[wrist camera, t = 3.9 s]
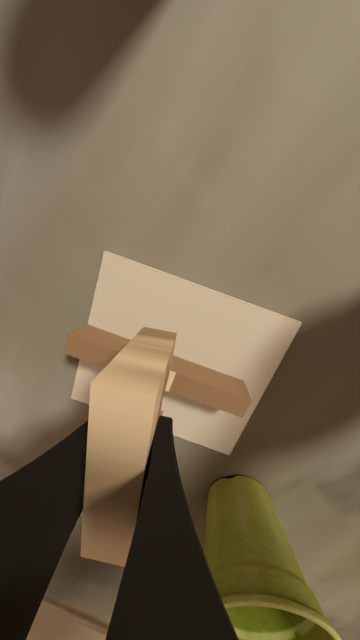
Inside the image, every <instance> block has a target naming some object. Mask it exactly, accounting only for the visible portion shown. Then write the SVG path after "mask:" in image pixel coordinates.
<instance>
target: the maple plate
mask: <svg viewBox="0 0 360 640" xmlns="http://www.w3.org/2000/svg"><path fill="white" fill-rule="evenodd" d="M176 335H177V333H174V332H169V331H164V330H158V329H153V328H148V327H143V328H142V329H141V330H140V331H139V332H138V333H137V334H136V335H135V337H134V338H133V339H132V340H131V341H130V342H129V343H128V344H127V345H126V346H125V347H124V348H123V349H122V350H121V351H120V352H119V353H118V354H117V355H116V356H115V357H114V358H113V360H112V361H111V362H110V363H109V364H108V365H107V366H106V367H105V368H104V369H103V370H102V371H101V372H100V373H99V374H98V375H97V376H96V377H95V378H94V379H93V380H92V381H91V383H90V401H89V418H88V435H87V452H86V469H85V486H84V503H83V520H82V537H81V555H80V557H84V558H88V559H93V560H97V561H101V562H105V563H109V564H113V565H117V566H122V567H125V565H126V561H127V557H128V553H129V549H130V545H131V542H132V538H133V534H134V530H135V526H136V522H137V518H138V514H139V510H140V506H141V502H142V498H143V494H144V491H145V487H146V482H147V476H148V470H149V463H150V457H151V451H152V445H153V439H154V433H155V429H156V425H157V422H158V419H159V415H161V416H163V411H161V406H162V400H163V396H164V392H165V389H166V385H167V381H168V378H169V374H170V370H171V364H172V358H173V353H174V347H175V341H176Z"/></svg>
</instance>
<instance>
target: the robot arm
mask: <svg viewBox="0 0 360 640" xmlns="http://www.w3.org/2000/svg"><path fill="white" fill-rule="evenodd" d="M87 435H88V421H87V422H85V423H84V424H83V425H82V426H80V427H79V428H78V429H77V430H75V431H74V432H73V433H71V434H70V435H69V436H68V437H66V438H65V439H64V440H62V441H61V442H59V443H58V444H57V445H55V446H54V447H52V448H51V449H50V450H48V451H47V452H45V453H44V454H43V455H41V456H40V457H38V458H37V459H35V460H34V461H32V462H31V463H29V464H27V465H26V466H24V467H23V468H21V469H20V470H18V471H16V472H15V473H13V474H12V475H10V476H8V477H6V478H5V479H3V480H1V481H0V640H26V638H27V635H28V632H29V630H30V628H31V625H32V623H33V621H34V618H35V616H36V613H37V611H38V609H39V606H40V604H41V602H42V599H43V597H44V595H45V592H46V590H47V587H48V585H49V583H50V580H51V578H52V576H53V573H54V571H55V569H56V566H57V564H58V562H59V559H60V557H61V555H62V553H63V550H64V548H65V546H66V543H67V541H68V539H69V536H70V534H71V532H72V530H73V528H74V526H75V524H76V522H77V520H78V518H79V516H80V514H81V512H82V510H83V503H84V486H85V469H86V452H87ZM106 640H239V639H238V637H237V634H236V632H235V630H234V627H233V625H232V623H231V620H230V618H229V616H228V613H227V611H226V609H225V606H224V604H223V602H222V599H221V597H220V594H219V592H218V589H217V587H216V584H215V582H214V579H213V577H212V574H211V572H210V569H209V566H208V564H207V561H206V558H205V555H204V553H203V550H202V547H201V544H200V542H199V539H198V536H197V533H196V530H195V527H194V524H193V521H192V518H191V515H190V512H189V508H188V505H187V501H186V498H185V494H184V490H183V487H182V482H181V478H180V474H179V469H178V464H177V459H176V453H175V447H174V439H173V419H172V418H171V417H166V416H161V415H159V419H158V422H157V425H156V429H155V433H154V439H153V445H152V451H151V457H150V463H149V470H148V476H147V482H146V487H145V491H144V494H143V498H142V502H141V506H140V510H139V514H138V518H137V522H136V526H135V530H134V534H133V538H132V542H131V545H130V549H129V553H128V557H127V561H126V565H125V568H124V572H123V576H122V580H121V584H120V588H119V591H118V595H117V599H116V603H115V606H114V610H113V614H112V618H111V621H110V625H109V629H108V633H107V636H106Z"/></svg>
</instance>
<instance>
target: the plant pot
mask: <svg viewBox="0 0 360 640" xmlns="http://www.w3.org/2000/svg"><path fill="white" fill-rule="evenodd" d="M204 555H205V558H206V561H207V564H208V566H209V569H210V572H211V574H212V577H213V579H214V582H215V584H216V587H217V589H218V592H219V594H220V597H221V599H222V602H223V604H224V606H225V609H226V611H227V613H228V616H229V618H230V620H231V623H232V625H233V627H234V630H235V632H236V634H237V637H238V639H239V640H341V638H340V636H339V634H338V632H337V631H336V629H335V628H334V627H333V625H332V624H331V623H330V622H329V621H328V620H327V619H326V618H325V615H324V613H323V611H322V609H321V607H320V605H319V602H318V600H317V599H316V597H315V595H314V594H313V592H312V591H311V590H310V589H309V587H308V585H307V583H306V581H305V578H304V576H303V574H302V572H301V569H300V567H299V565H298V563H297V560H296V558H295V556H294V553H293V551H292V549H291V546H290V544H289V542H288V539H287V537H286V535H285V533H284V530H283V528H282V526H281V523H280V521H279V519H278V516H277V514H276V512H275V509H274V507H273V505H272V502H271V500H270V498H269V495H268V493H267V492H266V490H265V488H264V487H263V486H262V485H261V484H260V483H259V482H257V481H256V480H254V479H252V478H249V477H246V476H240V475H237V476H235V477H233V478H230V479H225V478H221V479H219V480H217V481H216V482H215V483H214V484H213V485H212V486H211V488H210V490H209V493H208V502H207V515H206V528H205V541H204Z"/></svg>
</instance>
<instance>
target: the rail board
mask: <svg viewBox="0 0 360 640" xmlns="http://www.w3.org/2000/svg"><path fill="white" fill-rule="evenodd" d="M301 324H302V322H300V321H298V320H295V319H292V318H289V317H287V316H284V315H281V314H278V313H276V312H273V311H270V310H267V309H265V308H262V307H259V306H256V305H254V304H251V303H248V302H245V301H243V300H240V299H237V298H234V297H232V296H229V295H226V294H223V293H221V292H218V291H215V290H212V289H210V288H207V287H204V286H201V285H199V284H196V283H193V282H190V281H188V280H185V279H182V278H179V277H177V276H174V275H171V274H168V273H166V272H163V271H160V270H157V269H155V268H152V267H149V266H146V265H144V264H141V263H138V262H135V261H133V260H130V259H127V258H124V257H122V256H119V255H116V254H113V253H111V252H108V251H104V254H103V259H102V263H101V267H100V272H99V276H98V281H97V285H96V289H95V294H94V298H93V303H92V307H91V312H90V316H89V320H88V324H87V325H85V326H83V327H81V328H79V329H77V330H75V331H73V332H71V333H69V334H68V336H67V341H66V346H65V351H64V354H67V355H70V356H72V357H75V358H78V359H80V360H79V364H78V369H77V373H76V378H75V382H74V386H73V391H72V395H71V399H74V400H77V401H80V402H82V403H85V404H88V405H89V401H90V383H91V381H92V380H93V379H94V378H95V377H96V376H97V375H98V374H99V373H100V372H101V371H102V370H103V369H104V368H105V367H106V366H107V365H108V364H109V363H110V362H111V361H112V360H113V358H114V357H115V356H116V355H117V354H118V353H119V352H120V351H121V350H122V349H123V348H124V347H125V346H126V345H127V344H128V343H129V342H130V341H131V340H132V339H133V338H134V337H135V335H136V334H137V333H138V332H139V331H140V330H141V329H142V328H143V327H148V328H153V329H158V330H164V331H169V332H174V333H177V335H176V341H175V347H174V353H173V358H172V364H171V370H170V374H169V378H168V381H167V385H166V389H165V392H164V396H163V400H162V406H161V411H163V416H166V417H171V418H172V419H173V435H174V436H177V437H180V438H182V439H185V440H188V441H191V442H193V443H196V444H199V445H202V446H205V447H207V448H210V449H213V450H216V451H218V452H221V453H224V454H227V455H230V453H231V451H232V450H233V448H234V446H235V444H236V442H237V441H238V439H239V437H240V435H241V433H242V431H243V430H244V428H245V426H246V424H247V422H248V421H249V419H250V417H251V415H252V413H253V411H254V410H255V408H256V406H257V404H258V402H259V400H260V399H261V397H262V395H263V393H264V391H265V390H266V388H267V386H268V384H269V382H270V380H271V379H272V377H273V375H274V373H275V371H276V370H277V368H278V366H279V364H280V362H281V360H282V359H283V357H284V355H285V353H286V351H287V350H288V348H289V346H290V344H291V342H292V340H293V339H294V337H295V335H296V333H297V331H298V330H299V328H300V326H301Z"/></svg>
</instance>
